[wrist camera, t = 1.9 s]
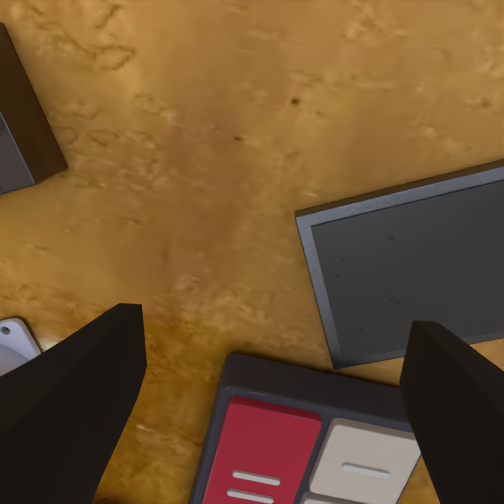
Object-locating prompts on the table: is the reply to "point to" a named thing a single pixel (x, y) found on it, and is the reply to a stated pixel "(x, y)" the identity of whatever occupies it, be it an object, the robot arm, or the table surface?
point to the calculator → (303, 438)
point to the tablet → (408, 263)
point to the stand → (23, 128)
